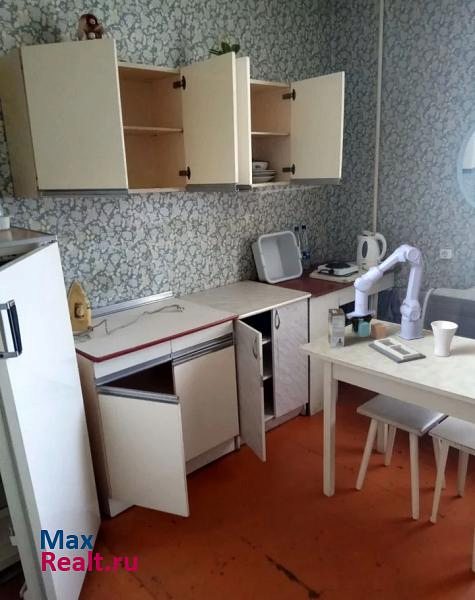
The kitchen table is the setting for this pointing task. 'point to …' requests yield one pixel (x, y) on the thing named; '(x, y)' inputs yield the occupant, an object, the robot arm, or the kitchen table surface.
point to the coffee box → (336, 327)
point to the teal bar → (362, 328)
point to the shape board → (396, 350)
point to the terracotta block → (378, 330)
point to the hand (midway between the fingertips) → (360, 330)
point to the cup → (443, 337)
